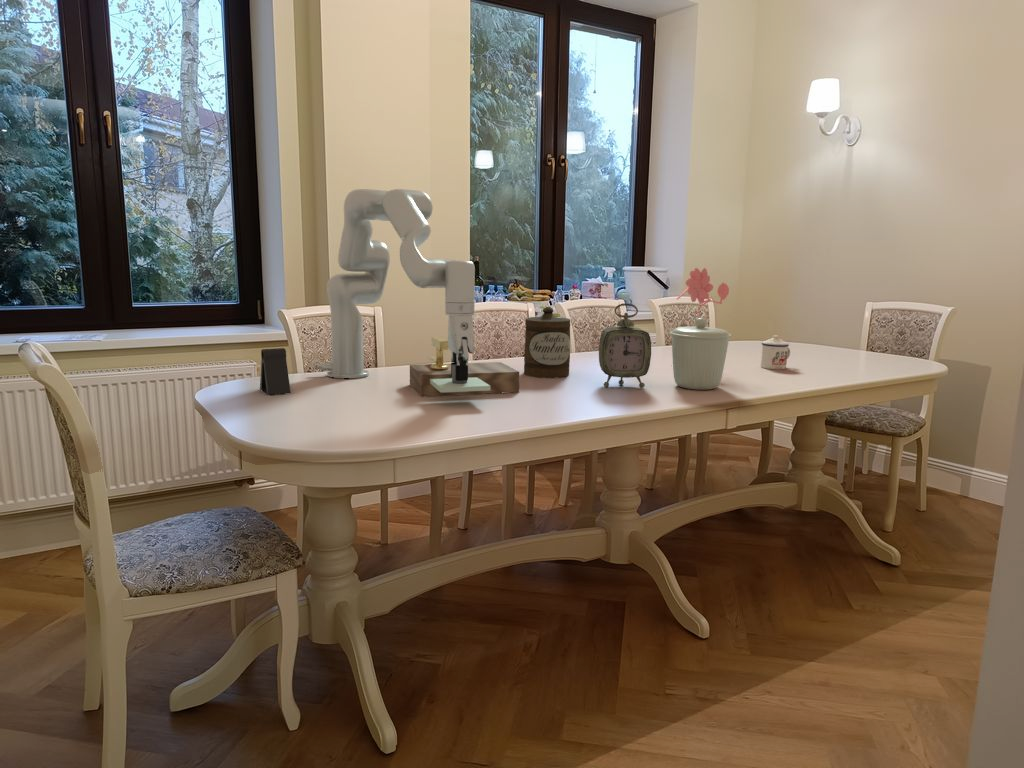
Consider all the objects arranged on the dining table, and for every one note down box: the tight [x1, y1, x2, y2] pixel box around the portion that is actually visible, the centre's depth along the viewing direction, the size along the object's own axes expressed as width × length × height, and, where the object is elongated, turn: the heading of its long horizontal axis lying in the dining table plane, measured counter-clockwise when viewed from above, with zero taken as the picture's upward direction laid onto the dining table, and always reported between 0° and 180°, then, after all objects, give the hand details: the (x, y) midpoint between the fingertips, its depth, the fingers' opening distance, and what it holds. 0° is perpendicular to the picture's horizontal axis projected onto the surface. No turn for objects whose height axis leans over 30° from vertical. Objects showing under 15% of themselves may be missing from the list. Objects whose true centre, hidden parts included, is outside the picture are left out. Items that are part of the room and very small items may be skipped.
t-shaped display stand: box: [427, 336, 449, 370], centre depth 214 cm, size 15×5×8 cm, turn 20°
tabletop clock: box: [598, 303, 652, 389], centre depth 223 cm, size 14×9×25 cm, turn 92°
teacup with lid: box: [760, 334, 791, 371], centre depth 266 cm, size 12×9×12 cm
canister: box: [669, 317, 732, 391], centre depth 224 cm, size 18×18×21 cm
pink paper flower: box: [676, 267, 730, 327], centre depth 262 cm, size 15×26×35 cm, turn 28°
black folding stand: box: [259, 347, 291, 396], centre depth 204 cm, size 9×6×12 cm, turn 32°
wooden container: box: [523, 306, 571, 379], centre depth 242 cm, size 15×15×22 cm
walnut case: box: [409, 361, 520, 398], centre depth 215 cm, size 28×18×6 cm, turn 108°
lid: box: [430, 364, 490, 393], centre depth 195 cm, size 13×13×6 cm
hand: (459, 378), depth 195 cm, fingers closed on lid, 4 cm apart
